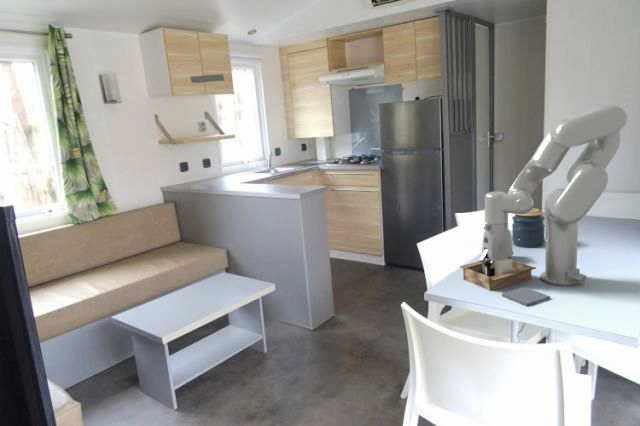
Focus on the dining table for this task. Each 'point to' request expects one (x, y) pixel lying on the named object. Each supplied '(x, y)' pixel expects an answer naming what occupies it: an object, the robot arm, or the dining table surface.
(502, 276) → the wooden tray
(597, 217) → the dining table surface
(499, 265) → the box
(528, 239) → the canister
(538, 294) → the pad
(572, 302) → the dining table surface
